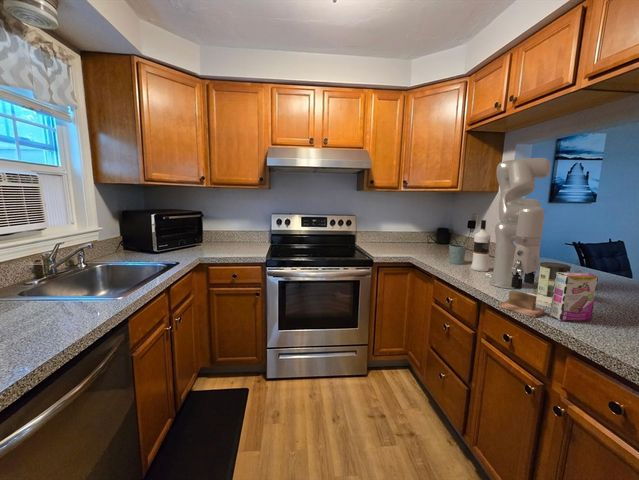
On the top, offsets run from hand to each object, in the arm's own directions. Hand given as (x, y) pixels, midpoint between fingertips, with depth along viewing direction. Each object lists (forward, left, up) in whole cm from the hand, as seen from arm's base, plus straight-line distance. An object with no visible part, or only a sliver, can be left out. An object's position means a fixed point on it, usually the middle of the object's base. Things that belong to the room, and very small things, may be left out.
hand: (522, 285), depth 107 cm
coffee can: (0, +29, -10) cm, 31 cm away
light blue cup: (-60, +53, -10) cm, 81 cm away
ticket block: (+1, +16, -9) cm, 19 cm away
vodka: (-42, +48, -10) cm, 65 cm away
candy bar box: (+13, +6, -10) cm, 17 cm away
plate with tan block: (+1, -1, -9) cm, 9 cm away
